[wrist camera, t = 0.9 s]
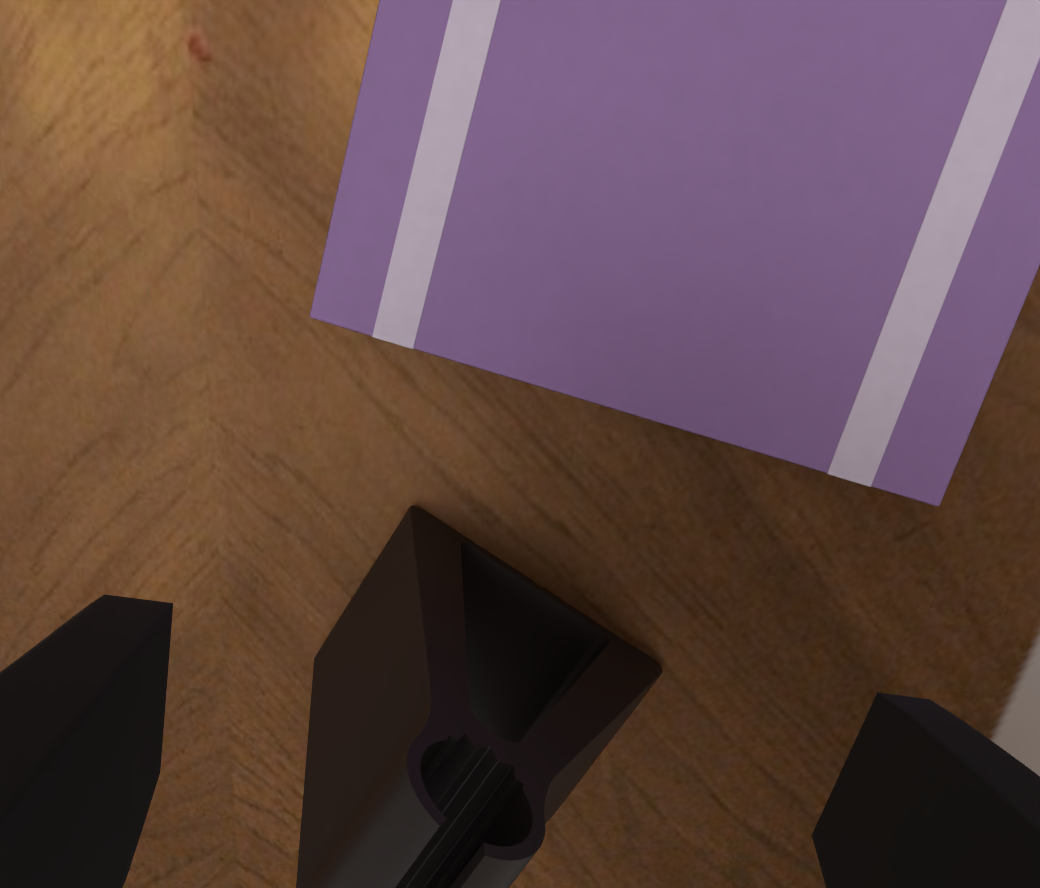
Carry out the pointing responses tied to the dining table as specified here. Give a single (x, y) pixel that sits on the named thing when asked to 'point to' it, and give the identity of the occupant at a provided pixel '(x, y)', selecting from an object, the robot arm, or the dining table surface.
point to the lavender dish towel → (706, 212)
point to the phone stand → (452, 718)
